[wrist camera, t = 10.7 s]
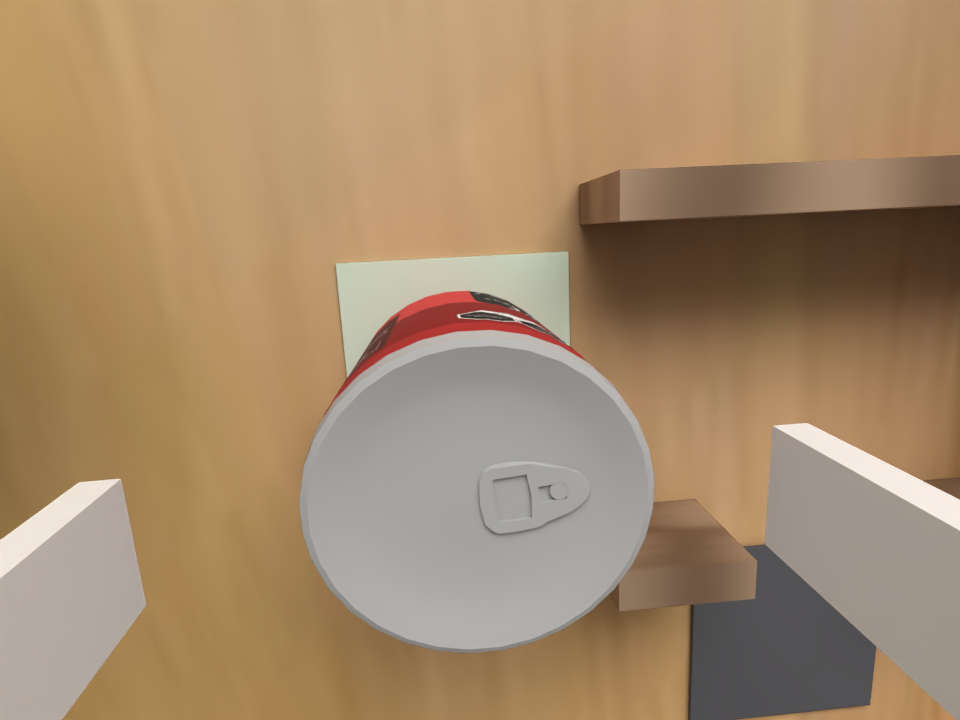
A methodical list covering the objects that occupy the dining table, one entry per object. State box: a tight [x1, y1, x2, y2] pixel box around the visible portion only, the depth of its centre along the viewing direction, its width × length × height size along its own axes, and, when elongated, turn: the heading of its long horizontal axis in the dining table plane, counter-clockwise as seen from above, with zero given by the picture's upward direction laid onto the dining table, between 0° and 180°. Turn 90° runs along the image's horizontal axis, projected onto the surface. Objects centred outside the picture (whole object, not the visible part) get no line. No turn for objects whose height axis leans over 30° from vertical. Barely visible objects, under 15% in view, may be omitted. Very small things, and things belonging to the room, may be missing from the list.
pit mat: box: [689, 545, 876, 720], centre depth 27 cm, size 9×9×1 cm
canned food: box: [299, 291, 654, 653], centre depth 18 cm, size 8×8×11 cm
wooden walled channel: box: [579, 155, 960, 612], centre depth 22 cm, size 20×15×5 cm
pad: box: [336, 251, 570, 378], centre depth 24 cm, size 9×10×1 cm
